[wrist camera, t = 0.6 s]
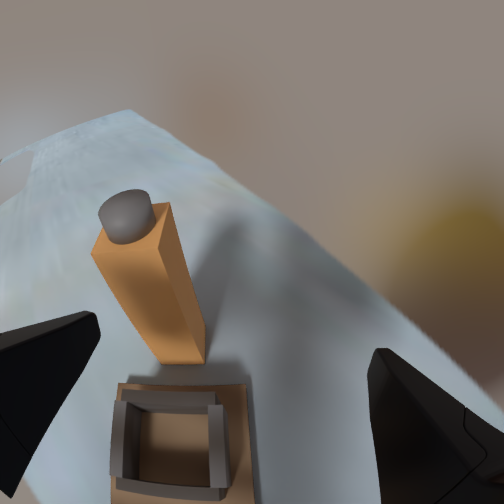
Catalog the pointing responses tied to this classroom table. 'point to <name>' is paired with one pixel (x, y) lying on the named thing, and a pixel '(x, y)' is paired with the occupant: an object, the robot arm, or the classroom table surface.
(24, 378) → the robot arm
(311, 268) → the classroom table surface
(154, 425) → the keeper
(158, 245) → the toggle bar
